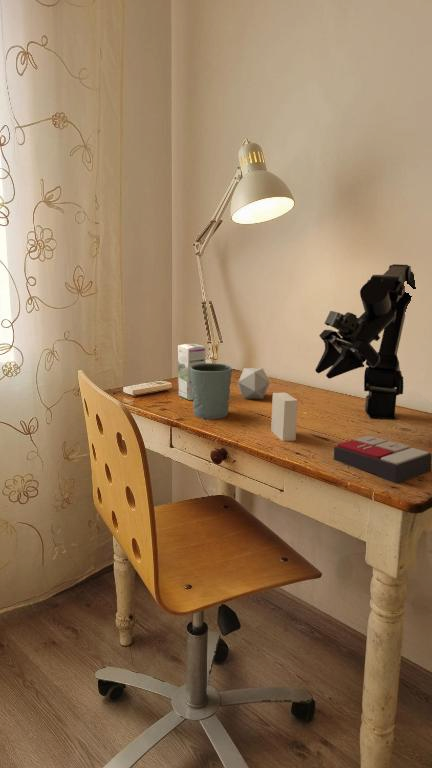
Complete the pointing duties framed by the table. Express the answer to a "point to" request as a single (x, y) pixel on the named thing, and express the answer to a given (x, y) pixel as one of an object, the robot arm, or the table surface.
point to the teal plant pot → (211, 389)
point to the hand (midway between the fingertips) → (321, 374)
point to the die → (253, 383)
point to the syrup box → (188, 367)
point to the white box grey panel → (284, 416)
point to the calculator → (384, 458)
